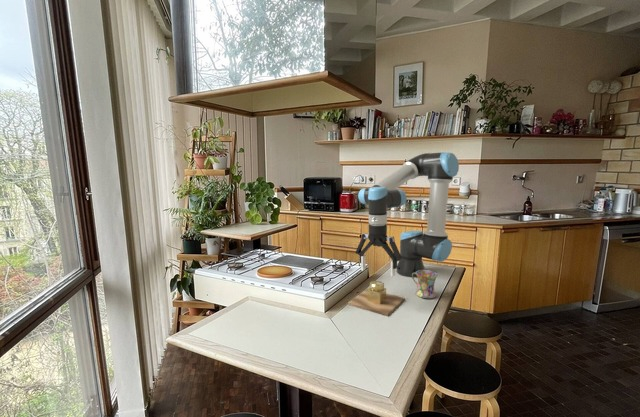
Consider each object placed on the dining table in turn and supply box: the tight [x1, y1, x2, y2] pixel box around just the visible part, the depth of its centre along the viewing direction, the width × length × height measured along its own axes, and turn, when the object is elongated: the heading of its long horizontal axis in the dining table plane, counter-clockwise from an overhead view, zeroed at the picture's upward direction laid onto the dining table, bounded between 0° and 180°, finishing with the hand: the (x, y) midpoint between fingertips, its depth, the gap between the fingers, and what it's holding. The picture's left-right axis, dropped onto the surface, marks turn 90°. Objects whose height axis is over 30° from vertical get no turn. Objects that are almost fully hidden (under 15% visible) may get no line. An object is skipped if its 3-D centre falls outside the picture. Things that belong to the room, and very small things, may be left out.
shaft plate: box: [347, 288, 405, 317], centre depth 132 cm, size 18×18×5 cm
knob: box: [367, 280, 387, 304], centre depth 132 cm, size 6×6×8 cm
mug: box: [411, 269, 438, 299], centre depth 139 cm, size 12×9×11 cm
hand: (377, 272), depth 131 cm, fingers open, 13 cm apart
